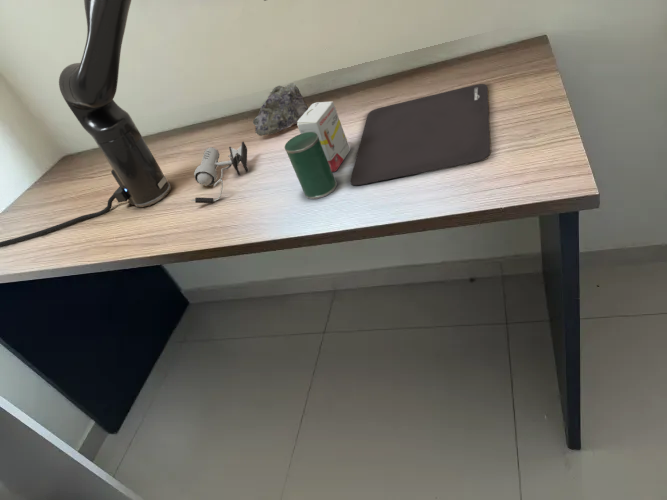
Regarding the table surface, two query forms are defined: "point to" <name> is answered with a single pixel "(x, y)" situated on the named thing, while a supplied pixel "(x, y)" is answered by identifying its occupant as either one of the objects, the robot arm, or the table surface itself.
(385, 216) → the table surface
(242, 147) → the clip-on lamp
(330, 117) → the ink box
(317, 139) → the tin can
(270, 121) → the mineral rock
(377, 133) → the mouse pad
